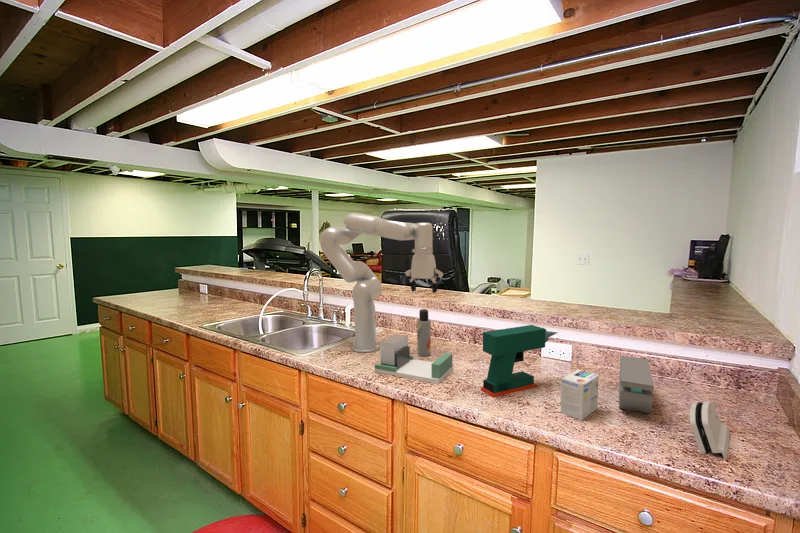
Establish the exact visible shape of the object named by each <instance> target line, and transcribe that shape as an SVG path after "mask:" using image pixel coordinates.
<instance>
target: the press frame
mask: <svg viewBox="0 0 800 533" xmlns="http://www.w3.org/2000/svg"><path fill="white" fill-rule="evenodd" d="M453 370H454V365H453V353H451V352H450V353H449V352H444V353H442V354H441V356H439V357H437V358H436V360H434V361H426V360H422V359H421V360H420V359H414V355H411V354H410V361H409V362H407V363H406V364H405V365H403V366H402V367H400V368H399V369H398V370H397V367H392V366H386V365H381V363H375V364H374V373H377V374H381V373H382V375H387V376H392V375H394V376H393V377H398V378H403V379H408V380H409V379H410V380H414V379H415V380H414V381H421V382H425V383H431V384H432V383H433V384H437V385H439V384H440V383H441V382H442V381H443V380H444V379H445V378H446V377H447V376H448V375H449V374H450V373H451V372H452V371H453Z"/></svg>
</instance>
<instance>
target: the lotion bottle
mask: <svg viewBox="0 0 800 533" xmlns="http://www.w3.org/2000/svg"><path fill="white" fill-rule="evenodd" d="M418 313H419V319H418V320H417V322H416V323H417V324H416V326H417V327H416V328H417V329H416V330H417V332H416V334H417V338H416V339H417V345H416V346H417V356H418V357H421V358H427V357H430V356H431V352H432V350H431V343H432V342H431V341H432V340H431V338H432V336H431V320H429V310H428V309H425V308H424V309H422V308H421V309H420V310H419V312H418Z"/></svg>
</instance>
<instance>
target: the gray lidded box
mask: <svg viewBox="0 0 800 533" xmlns="http://www.w3.org/2000/svg"><path fill="white" fill-rule="evenodd" d="M619 363H620V364H619V365H620V366H619V383H618V384H619V385H618V388H619V389H618V405H619V406H618V408H619V409H624V410H630V411H634V412H639V413H645V414H651V413H652V412H651V411H652V409H653V408H652V407H653V403H654V402H653V401H654V394H653V392H654V391H655V390H654V389H655V385H654V381H653V376H652V372H651V368H650V363H649V359H648V358H641V357H633V356H627V355H620V357H619Z"/></svg>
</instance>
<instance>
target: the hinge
mask: <svg viewBox="0 0 800 533" xmlns="http://www.w3.org/2000/svg"><path fill="white" fill-rule="evenodd" d="M689 422H690V423H689V424H690V426H691V430H692V433H693V435H694V439H695V442H696V444H697V449H698V450H699V452H700V453H704V454H705V453H707V452H708V451H709V452H711V453H712V454H721V455H722V457H723V459H724V460H728V452H729V443H730V430H729V426H728V425H726V424H725V423H723V422H721V420H720V417H719V414H718V412H717V409H716V408H715V405H714V402H712V401H703V402H702V401H697V402H692V404H691V406H690V409H689Z"/></svg>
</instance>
